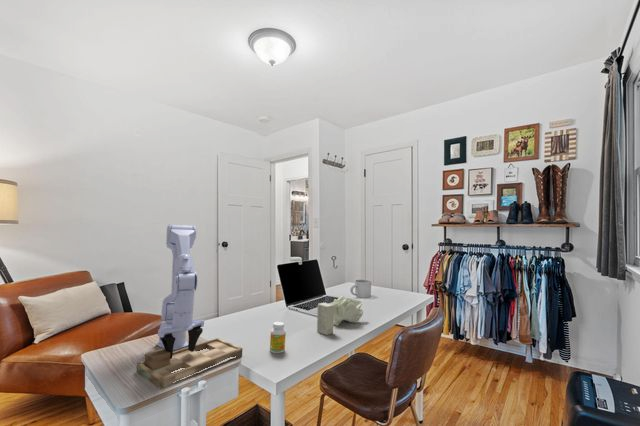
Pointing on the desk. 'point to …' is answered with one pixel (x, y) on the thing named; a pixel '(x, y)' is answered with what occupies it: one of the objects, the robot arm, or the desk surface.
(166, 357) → the walnut block
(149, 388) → the desk surface
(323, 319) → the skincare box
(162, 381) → the tray
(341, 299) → the wavy plaster lump
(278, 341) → the supplement bottle
